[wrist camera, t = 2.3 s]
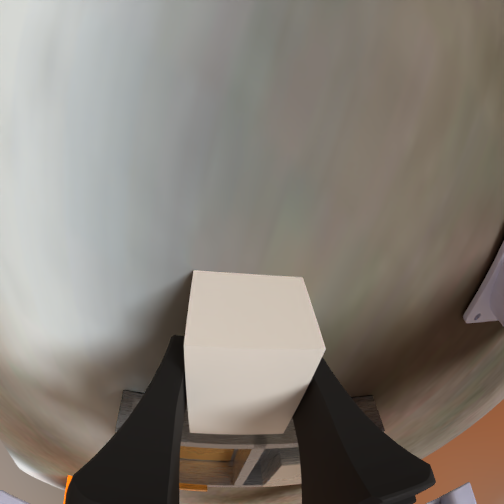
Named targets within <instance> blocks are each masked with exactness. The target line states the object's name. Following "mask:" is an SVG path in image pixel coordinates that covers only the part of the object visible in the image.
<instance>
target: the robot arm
mask: <svg viewBox="0 0 504 504" xmlns="http://www.w3.org/2000/svg"><path fill="white" fill-rule="evenodd" d="M463 319H464V320H465V322H466V323H477V322H488V321H498V320H499V322H500V323H501V324H502V326H503V327H504V241H503V243H502V245H501V247H500V249H499V251H498V254H497V256H496V258H495V260H494V262H493V264H492V266H491V268H490V269H489V271H488V273H487V275H486V277H485V279H484V281H483V282H482V284H481V286H480V288H479V290H478V291H477V293H476V295H475V296H474V298H473V300H472V302H471V303H470V305H469V306H468V308H467V310H466V311H465V313H464V315H463ZM184 339H185V336H177V335H174V336H172V337H171V340H170V343H169V346H168V349H167V351H166V353H165V356H164V358H163V360H162V362H161V364H160V366H159V368H158V370H157V372H156V374H155V376H154V378H153V380H152V381H151V383H150V385H149V386H148V388H147V390H146V391H145V393H144V395H143V396H142V398H141V400H140V401H139V403H138V404H137V406H136V407H135V409H134V410H133V411H132V413H131V414H130V416H129V417H128V418H127V420H126V421H125V422H124V423H123V425H122V426H121V427H120V428H119V430H118V431H117V432H116V433H115V435H114V436H113V437H112V438H111V439H110V440H109V441H108V443H107V444H106V445H105V446H104V447H103V448H102V449H101V450H100V451H99V452H98V453H97V454H96V455H95V456H94V457H93V458H92V459H91V460H90V461H89V462H88V463H87V464H85V465H84V466H83V467H82V468H81V469H80V470H79V471H78V472H76V473H75V474H74V475H73V477H72V479H71V481H70V483H69V486H68V489H67V492H66V499H65V504H179V469H180V445H181V436H182V430H183V423H184V417H185V410H186V404H187V394H186V379H185V361H184ZM292 418H293V422H294V427H295V432H296V436H297V441H298V447H299V455H300V466H301V482H302V504H413V503H415V502H416V497H415V495H416V494H418V493H420V492H422V491H424V490H426V489H428V488H430V487H431V486H433V485H434V484H435V482H436V481H435V478H434V475H433V472H432V469H431V466H430V464H428V463H426V462H424V461H423V460H421V459H419V458H418V457H416V456H414V455H413V454H411V453H410V452H408V451H407V450H405V449H404V448H403V447H401V446H400V445H398V444H397V443H396V442H395V441H394V440H392V439H391V438H390V437H389V436H388V435H386V434H385V433H384V432H383V431H382V430H381V429H379V428H378V427H377V426H376V425H375V424H374V423H373V422H372V421H371V420H370V419H369V418H368V417H367V416H366V415H365V413H364V412H363V411H362V410H361V409H360V408H359V407H358V405H357V404H356V403H355V402H354V401H353V399H352V398H351V397H350V396H349V394H348V393H347V392H346V390H345V389H344V388H343V386H342V385H341V384H340V382H339V381H338V380H337V378H336V377H335V375H334V374H333V372H332V371H331V369H330V368H329V366H328V365H327V363H326V362H325V360H324V359H323V357H322V358H321V360H320V363H319V365H318V367H317V369H316V371H315V373H314V375H313V377H312V379H311V381H310V383H309V385H308V387H307V389H306V391H305V393H304V395H303V397H302V399H301V401H300V403H299V405H298V407H297V409H296V411H295V413H294V415H293V416H292ZM0 504H29V503H27V502H25V501H23V500H21V499H18V498H17V497H14V496H12V495H10V494H8V493H6V492H5V491H3V490H0ZM426 504H477V503H476V500H475V497H474V494H473V491H472V488H471V485H470V483H469V482H467V483H466V484H464V485H462V486H460V487H458V488H456V489H454V490H452V491H450V492H448V493H447V494H445V495H443V496H441V497H439V498H437V499H435V500H433V501H431V502H428V503H426Z"/></svg>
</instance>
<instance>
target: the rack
mask: <svg viewBox="0 0 504 504" xmlns="http://www.w3.org/2000/svg"><path fill="white" fill-rule="evenodd" d="M143 395H144V393H138V392H131V391H125V390H123V395H122V400H121V405H120V409H119V414H118V420H117V425H116V430H115V433H116V432H117V431H118V430H119V428H120V427H121V426H122V425H123V423H124V422H125V421H126V420H127V418H128V417H129V416H130V414H131V413H132V411H133V410H134V409H135V407H136V406H137V404H138V403H139V401H140V400H141V398H142V396H143ZM352 399H353V401H354V402H355V403H356V404H357V405H358V407H359V408H360V409H361V410H362V411H363V412H364V413H365V415H366V416H367V417H368V418H369V419H370V420H371V421H372V422H373V423H374V424H375V425H376V426H377V427H378V428H379V429H381V430H382V431H383V432H384V431H385V430H384V427H383V424H382V421H381V418H380V415H379V412H378V410H377V407H376V404H375V401H374V398H373V396H372V395H371V396H363V397H354V398H352ZM295 484H302V482H301V466H300V455H299V447H298V441H297V436H296V432H295V427H294V422H293V418H291V420H290V422H289V424H288V426H287V427H286V429H285V431H284V433H283V434H255V435H231V434H203V433H190V430H189V419H188V407H187V404H186V410H185V417H184V423H183V430H182V436H181V445H180V469H179V490H190V491H206V492H207V487H271V486H284V485H295Z"/></svg>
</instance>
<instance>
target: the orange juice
mask: <svg viewBox="0 0 504 504" xmlns="http://www.w3.org/2000/svg"><path fill="white" fill-rule="evenodd" d="M72 477H73V476H69V475H68V478H67V484H66V490H65V496H64V503H63V504H65V499H66V492H67V489H68V486H69V483H70V481H71V479H72Z"/></svg>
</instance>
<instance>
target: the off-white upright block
mask: <svg viewBox="0 0 504 504" xmlns="http://www.w3.org/2000/svg"><path fill="white" fill-rule="evenodd" d="M325 350H326V348H325V345H324V342H323V338H322V335H321V332H320V329H319V326H318V323H317V320H316V316H315V313H314V310H313V307H312V304H311V301H310V298H309V295H308V292H307V289H306V286H305V283H304V280H303V277H290V276H273V275H256V274H241V273H226V272H212V271H198V270H194V271H193V278H192V285H191V292H190V299H189V306H188V314H187V322H186V330H185V339H184V361H185V379H186V394H187V407H188V419H189V430H190V433H203V434H231V435H255V434H283V433H284V431H285V429H286V427H287V426H288V424H289V422H290V420H291V418H292V416H293V415H294V413H295V411H296V409H297V407H298V405H299V403H300V401H301V399H302V397H303V395H304V393H305V391H306V389H307V387H308V385H309V383H310V381H311V379H312V377H313V375H314V373H315V371H316V369H317V367H318V365H319V363H320V360H321V358H322V356H323V354H324V352H325Z"/></svg>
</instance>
